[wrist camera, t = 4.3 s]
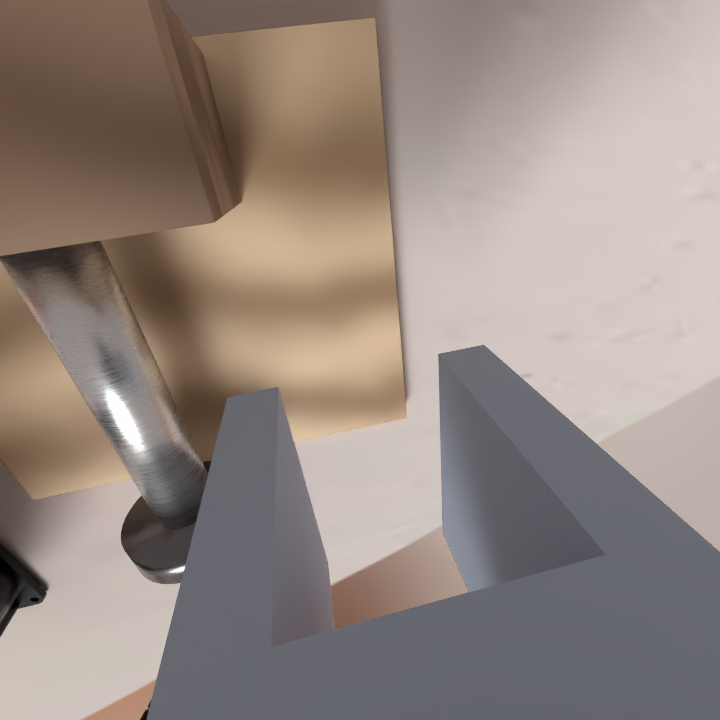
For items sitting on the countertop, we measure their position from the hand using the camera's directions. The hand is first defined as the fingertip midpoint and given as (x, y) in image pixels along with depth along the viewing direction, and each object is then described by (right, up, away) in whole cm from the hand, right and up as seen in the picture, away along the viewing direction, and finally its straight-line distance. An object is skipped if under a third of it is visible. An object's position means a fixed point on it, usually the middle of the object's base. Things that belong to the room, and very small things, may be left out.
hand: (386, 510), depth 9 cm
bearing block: (-10, +7, +9) cm, 15 cm away
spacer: (0, +1, +1) cm, 1 cm away
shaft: (-11, +4, +8) cm, 14 cm away
